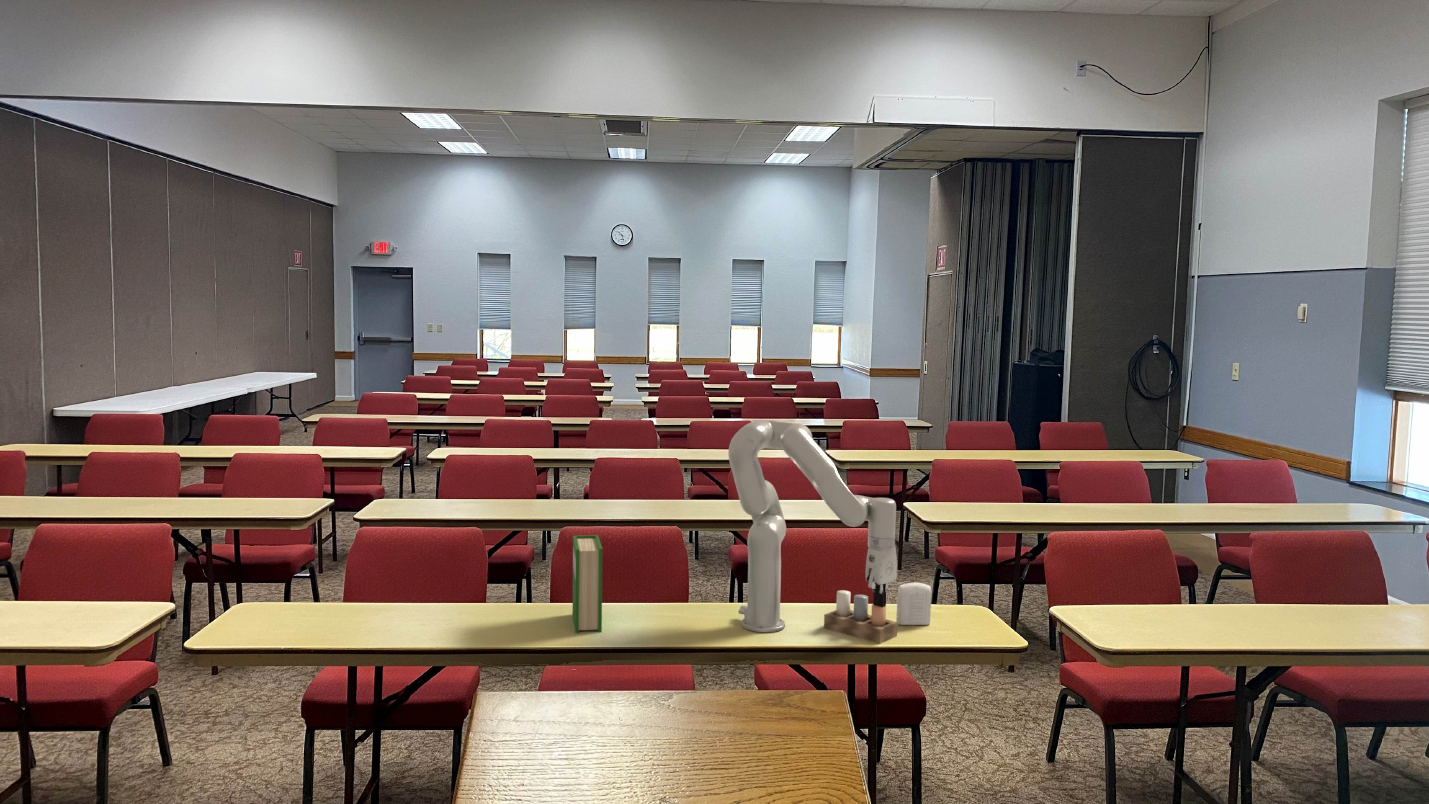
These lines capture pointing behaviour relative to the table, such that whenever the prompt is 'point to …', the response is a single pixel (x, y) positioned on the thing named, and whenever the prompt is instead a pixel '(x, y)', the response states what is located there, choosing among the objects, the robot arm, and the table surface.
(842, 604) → the white peg
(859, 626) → the wooden peg holder
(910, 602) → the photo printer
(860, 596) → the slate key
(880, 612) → the salmon orange cylinder
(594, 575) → the hardback book
